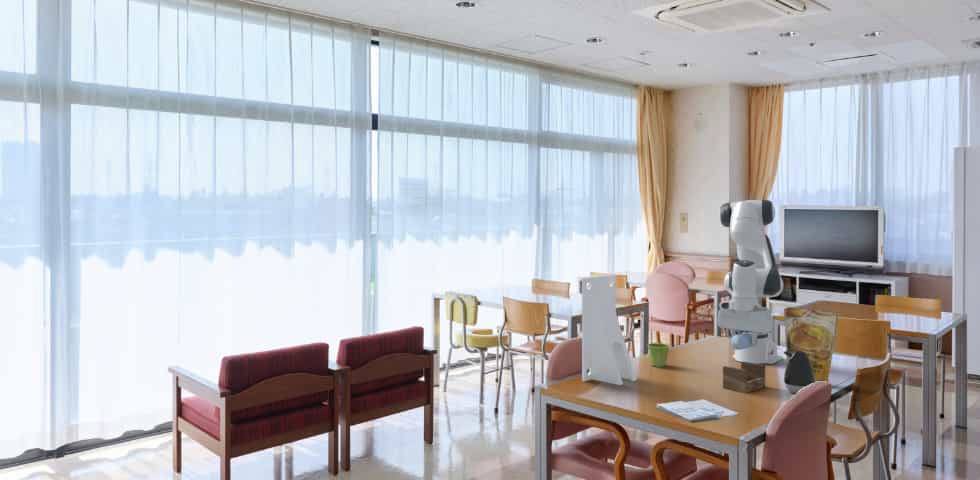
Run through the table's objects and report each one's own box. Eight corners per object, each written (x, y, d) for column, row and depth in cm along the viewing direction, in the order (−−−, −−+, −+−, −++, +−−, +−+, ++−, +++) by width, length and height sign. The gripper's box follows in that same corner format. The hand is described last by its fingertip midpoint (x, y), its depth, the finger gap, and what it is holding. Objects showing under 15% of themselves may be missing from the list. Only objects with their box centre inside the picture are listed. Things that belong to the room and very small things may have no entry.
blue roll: (744, 345, 268) (744, 331, 267) (757, 347, 263) (757, 333, 263) (730, 348, 262) (730, 334, 261) (743, 351, 257) (744, 336, 257)
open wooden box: (742, 382, 271) (743, 361, 271) (765, 386, 264) (765, 365, 264) (722, 388, 262) (722, 366, 262) (745, 392, 255) (745, 370, 255)
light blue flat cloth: (654, 408, 238) (654, 402, 238) (705, 402, 245) (705, 396, 245) (690, 424, 220) (690, 417, 220) (743, 417, 227) (743, 410, 227)
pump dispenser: (788, 387, 262) (788, 346, 261) (818, 392, 255) (818, 349, 255) (779, 393, 254) (779, 350, 254) (810, 397, 248) (810, 354, 247)
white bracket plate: (612, 387, 265) (612, 279, 263) (582, 380, 275) (581, 277, 274) (643, 378, 278) (643, 276, 277) (613, 372, 289) (613, 274, 287)
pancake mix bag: (787, 377, 279) (787, 305, 278) (837, 385, 265) (838, 310, 264) (779, 379, 274) (779, 307, 273) (830, 388, 260) (831, 312, 259)
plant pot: (668, 363, 306) (668, 343, 306) (671, 368, 296) (671, 347, 296) (646, 363, 307) (646, 343, 306) (648, 367, 297) (648, 347, 297)
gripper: (775, 307, 256) (775, 345, 256) (724, 301, 272) (724, 337, 272) (766, 308, 252) (766, 347, 252) (715, 303, 268) (715, 339, 268)
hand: (744, 342), depth 262 cm, fingers closed on blue roll, 5 cm apart
